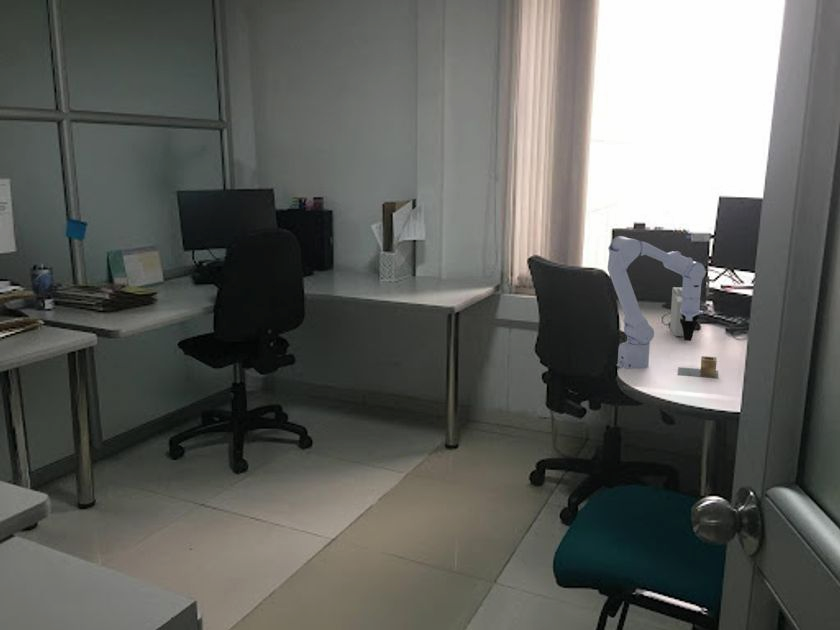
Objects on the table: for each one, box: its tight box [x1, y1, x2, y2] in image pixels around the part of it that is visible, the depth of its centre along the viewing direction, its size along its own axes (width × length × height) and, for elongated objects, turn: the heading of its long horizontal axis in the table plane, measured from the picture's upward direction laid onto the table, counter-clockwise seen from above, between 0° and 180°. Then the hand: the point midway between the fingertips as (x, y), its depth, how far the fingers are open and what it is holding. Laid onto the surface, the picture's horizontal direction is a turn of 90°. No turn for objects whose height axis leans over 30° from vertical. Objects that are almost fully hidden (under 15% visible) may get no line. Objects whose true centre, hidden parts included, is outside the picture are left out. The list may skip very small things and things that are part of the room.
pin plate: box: [677, 366, 719, 380], centre depth 227 cm, size 12×9×1 cm
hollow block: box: [700, 355, 718, 376], centre depth 225 cm, size 4×4×5 cm
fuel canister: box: [669, 286, 684, 338], centre depth 277 cm, size 15×5×25 cm, turn 170°
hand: (688, 337), depth 237 cm, fingers open, 7 cm apart
